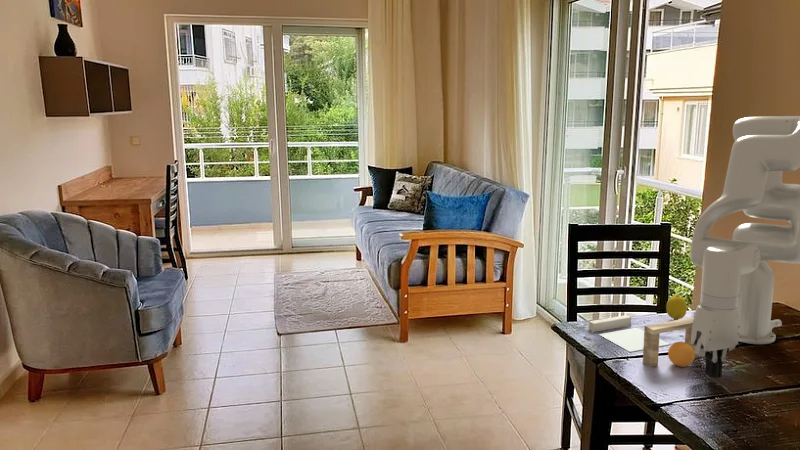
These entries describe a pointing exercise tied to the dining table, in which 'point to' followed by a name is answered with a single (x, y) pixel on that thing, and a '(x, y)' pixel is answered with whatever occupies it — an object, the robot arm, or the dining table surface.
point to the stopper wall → (609, 323)
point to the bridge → (653, 338)
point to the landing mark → (629, 339)
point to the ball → (681, 354)
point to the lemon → (676, 307)
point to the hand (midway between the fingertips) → (713, 375)
